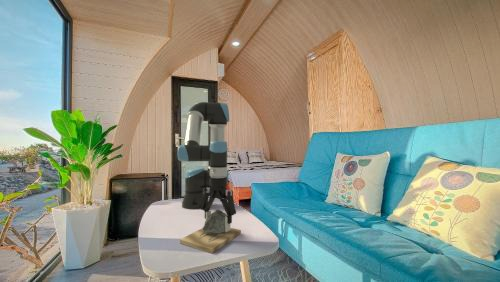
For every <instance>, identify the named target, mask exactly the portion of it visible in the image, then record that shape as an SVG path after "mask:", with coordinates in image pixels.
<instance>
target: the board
mask: <svg viewBox="0 0 500 282" xmlns="http://www.w3.org/2000/svg"><path fill="white" fill-rule="evenodd" d="M240 233H242V230H241V229H238V228H234V227H230V231H228V232H223V233H216V234H206V233H205V232H204V231H203V229H202V228H200V229H198V230H196V231H194V232H192V233H189V234H188V235H186V236H184V237H182V238H180V239H179V244H180V243H181V244H180V245H183V246H186V247H190V248H194V249H197V250H200V251H203V252H206V253H209V254H213V253H215V252H217V251H218V250H219V249H221V248H222V247H224V246H225V245H226V244H228V243H230V242H231V241H232V240H233V239H235V238H236V237H238V236H239V235H241V234H240Z"/></svg>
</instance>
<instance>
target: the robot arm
mask: <svg viewBox="0 0 500 282" xmlns="http://www.w3.org/2000/svg"><path fill="white" fill-rule="evenodd" d="M229 110H230V109H229V106H228V104H227V103H226V102H225V103H224V102H213V101H211V102H208V101H200V102H197V103H196V104H194V105H192V106H191V107H190V109H189V110H187V111H188V112H187V114H186V120H187V123H186V131H185V134H184V141H183V144H182V145H181V144H180V145H178V146H177V154H176V155H177V160H178V161H179V162H209V166H207V169H206V168H205V167H195V168H190V169H187V170H186V171H185V175H184V181H185V183H184V195H183V199H182V202H181V208H184V209H188V210H189V209H190V210H192V209H193V210H195V209H200V210H203V211H204V219H205V220H206V219H207V217H208V216H209V215H210V214H212V211H211V208H212V205H213V203H214V201H215V200H216V199H217V200H219V201H220V202H221V204H222V206H223V209H224V211H225V212H224V213H225V214H226V215H227V216H225V232H228V231H230V228H231V224H232V222H233V216H235V215H236V214H237V210H236V205H235V201H234V200H235V199H234V197H233V195H234V191H233V189H232V190H228V189H227V186H228V182H229V181H228V179H229V170H228V142H227V141H225V128H226V126H227V125H228V123H230V112H229ZM203 122H207V125H208V126H209V127H210V144H209V145H202V144H201V131H202V123H203Z"/></svg>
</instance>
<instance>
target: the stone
mask: <svg viewBox="0 0 500 282" xmlns="http://www.w3.org/2000/svg"><path fill="white" fill-rule="evenodd" d="M225 216H227V214H226V212H224V211H222V210H221V209H219V208H218V209H216V210H215V211H213V212H211V214H210V215H209V216H208V217H207V219H205V221H204V225H203V227H201V229H203V231H204V232H205V233H206V234H216V233H223V232H225Z"/></svg>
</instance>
